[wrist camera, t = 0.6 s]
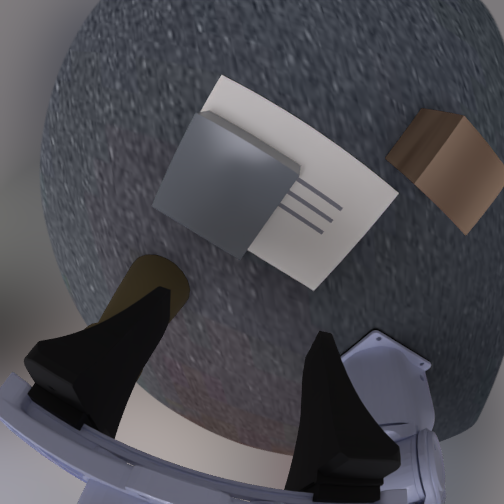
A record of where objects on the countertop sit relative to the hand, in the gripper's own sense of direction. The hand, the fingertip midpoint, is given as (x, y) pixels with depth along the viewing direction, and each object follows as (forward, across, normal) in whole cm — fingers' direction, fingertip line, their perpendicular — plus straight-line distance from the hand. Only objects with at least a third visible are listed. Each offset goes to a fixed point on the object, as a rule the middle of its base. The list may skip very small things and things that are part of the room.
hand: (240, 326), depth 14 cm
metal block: (+9, +4, -4) cm, 10 cm away
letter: (+9, 0, -4) cm, 10 cm away
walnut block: (+10, -9, -9) cm, 16 cm away
